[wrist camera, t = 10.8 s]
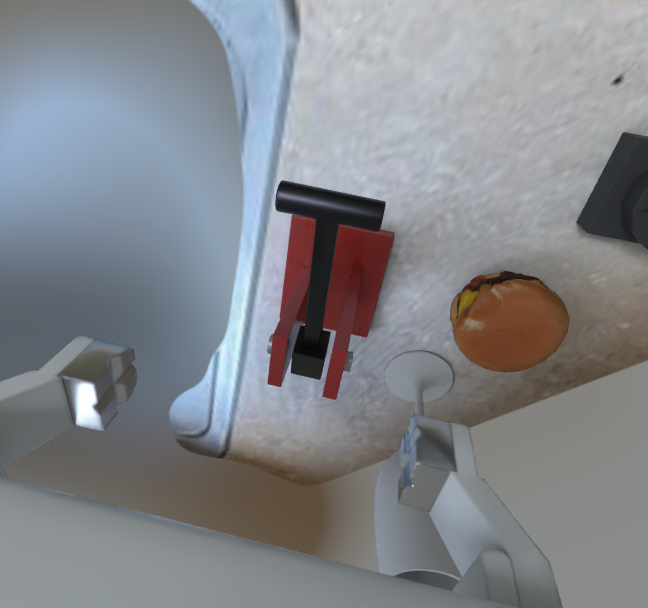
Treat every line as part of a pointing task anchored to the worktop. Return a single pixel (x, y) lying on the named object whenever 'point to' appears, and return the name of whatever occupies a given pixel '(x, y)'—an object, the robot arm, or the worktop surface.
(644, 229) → the button box
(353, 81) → the worktop surface
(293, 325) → the bracket
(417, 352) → the wineglass
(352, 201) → the lever
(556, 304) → the burger
